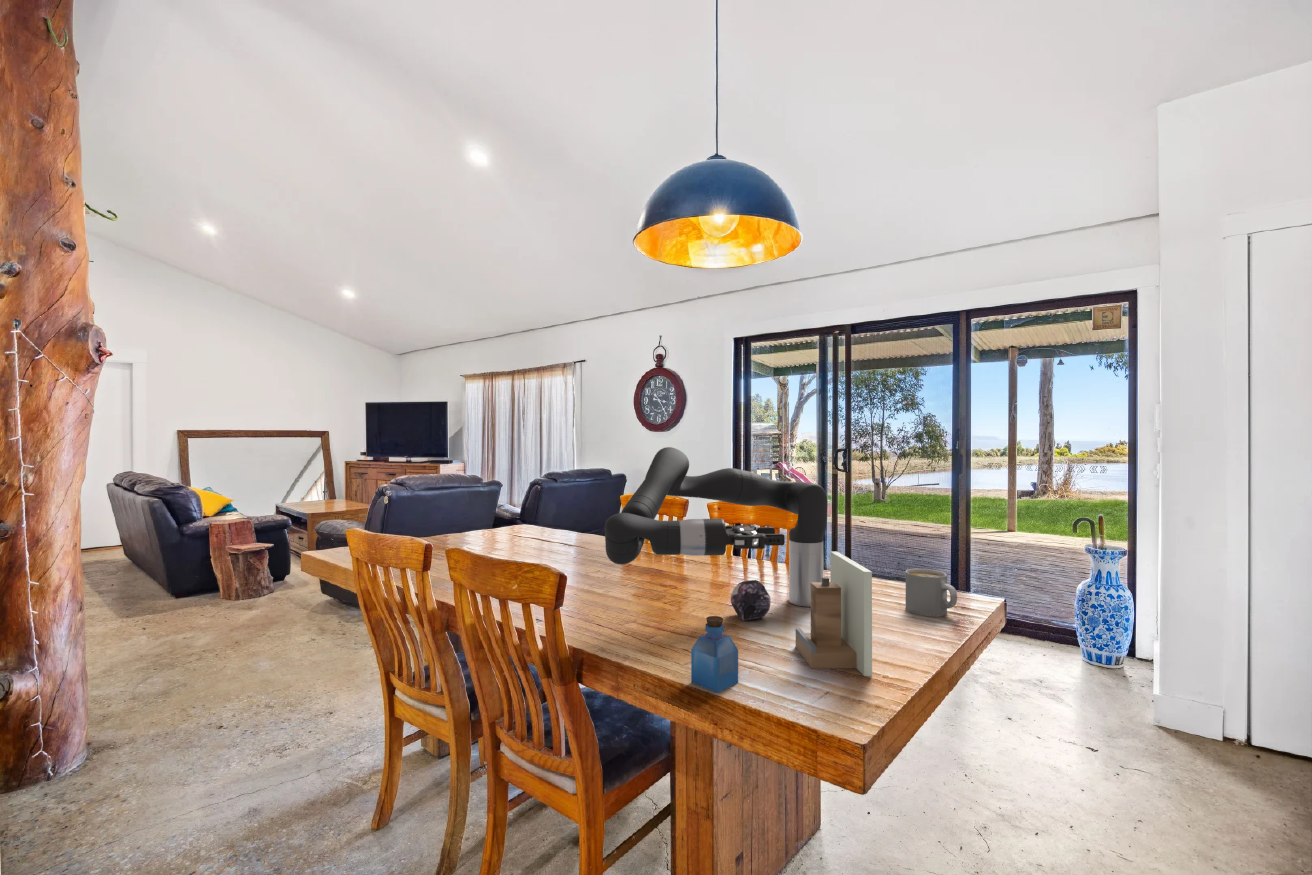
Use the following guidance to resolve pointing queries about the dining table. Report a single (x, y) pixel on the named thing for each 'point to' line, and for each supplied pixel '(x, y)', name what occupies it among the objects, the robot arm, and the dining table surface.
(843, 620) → the cleat board
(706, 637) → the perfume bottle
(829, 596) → the knob board
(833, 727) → the dining table surface
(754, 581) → the mineral specimen
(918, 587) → the coffee mug
